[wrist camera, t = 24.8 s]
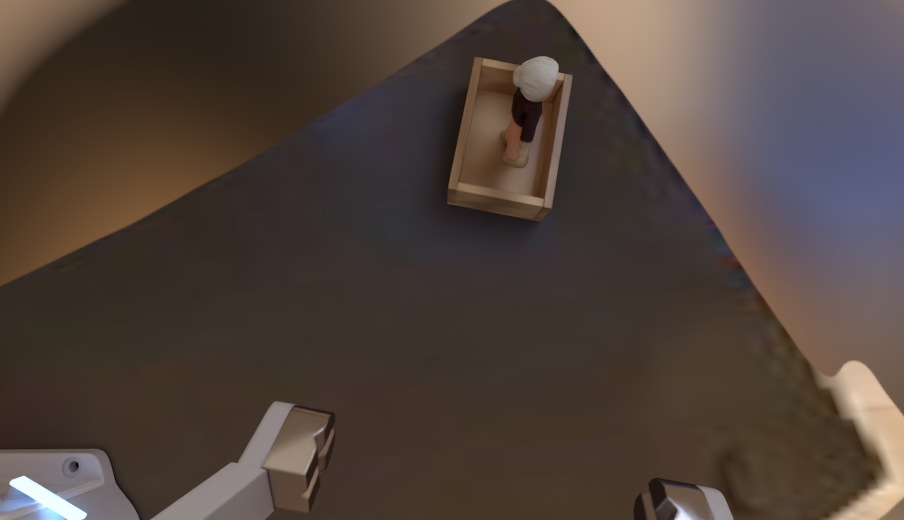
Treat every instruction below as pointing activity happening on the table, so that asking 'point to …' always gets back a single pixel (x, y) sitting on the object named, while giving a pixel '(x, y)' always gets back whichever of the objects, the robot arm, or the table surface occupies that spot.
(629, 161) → the table surface
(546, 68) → the grandmother figurine
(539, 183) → the holder
